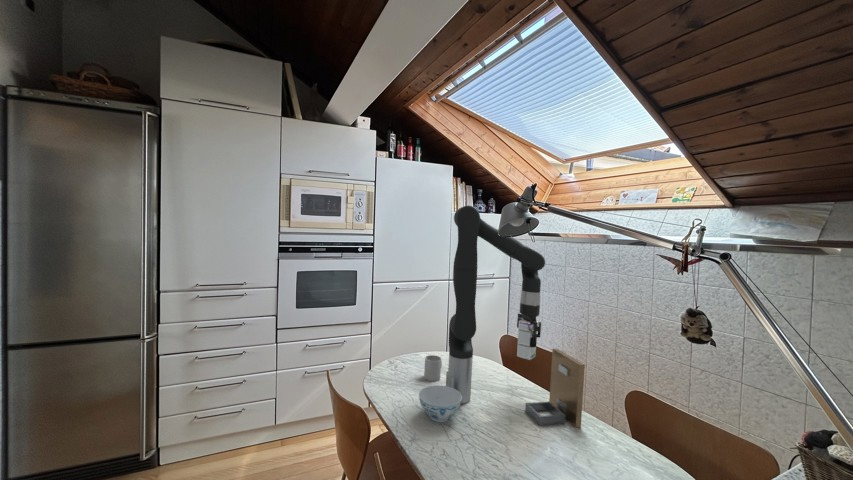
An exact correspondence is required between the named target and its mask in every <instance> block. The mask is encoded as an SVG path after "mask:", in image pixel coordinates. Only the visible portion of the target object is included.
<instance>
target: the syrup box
mask: <svg viewBox="0 0 853 480" xmlns="http://www.w3.org/2000/svg"><path fill="white" fill-rule="evenodd" d="M536 321H537V322H539V321H538V320H536ZM527 323H528V324H527ZM528 325H529V326H530V329H533V325H534V323H533V325H530V322H528V321H525V320H520V321H519V328H518V331H517V332H518V333H517V348H516V349H517V350H516V351H517V352H516V356H517V357H518V358H521V359H525V360H529V361H532V360H533V359H534V358H536V356H537V346H536V347H530V333H529V332H528ZM532 333H533V331H532ZM537 341H538V339H537V338H536V344H537V343H538V342H537Z"/></svg>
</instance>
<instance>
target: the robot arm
mask: <svg viewBox="0 0 853 480" xmlns="http://www.w3.org/2000/svg"><path fill="white" fill-rule="evenodd" d="M480 215H481V214H480V212H479V210H478V209H477V208H476V207H475V206H473V205H464V206H462V207H460V208H458V209H457V210H456V211H455V212H454V215H453V221H454V224H455V225H456V227H457V245H456V250H455V254H454V255H455V256H454V260H453V268H452V269H453V271H452V281H453V283H452V284H453V291H454V295H455V313H454V314H453V315H452V316H451V318H450V320H449V327H448V349H449V350H448V353H449V354H448V368H447V370H448V371H446V377H445V378H446V379H445V386H447V387H450V388H453V389H455V390H457V391H458V392H459V393H460V394H461V396H462V400H461V403H460V405H462V404H463V405H464V404H468V403H469V402H470V401H471V396H472V395H471V393H472V392H471V391H472V376H473V358H474V349H473V348H474V347H473V344H472V343H473V342H472V339H473V337H474V336H475V334H476V331H477V320H476V319H477V318H476V316H477V315H476V298H477V282H478V281H477V280H478V237H479V238H481V240H484V241H485V242H487V243H489V244H490V245H492V246H493V248H496V249H497V250H499V251H501V252H502V253H503V254H505V255H506V256H508V257H510V258H511V259H513V260H516V261H518V262H519V263H520V266H521V267H520V268H521V269H520V270H521V275H522V283H521V292H520V293H521V294H520V301H519V313H518V314H517V320H516V322H517V323H516V329H517V328H519V321H520V320H525V321H528V322H530V325H533V323H534V325H533V329H530V326H529V325H528V332H529V333H530V347H536V348H537V343H536V338H541V331H542V322H541V321H538V320H537V317H539V316H540V308H541V287H542V284H541V283H542V281H541V278H540V277H539V271H541V270H543V269H544V267H545V265H546V259H545V257H544V256H543V255H542V254H541V253H540V252H538V251H536V250H534V249H532V248H531V247H529V246H527V245H525V244H523V243H522V242H520V241H519V240H518V239H516V238H514V237H513V236H511V237H502V236H499V235H498V230H499V229H498V228H496V227H495V226H492V225H491V224H489V223H487V222H486V221H485V220H484V219H482V218H481V216H480ZM537 321H538V322H537ZM527 324H528V323H527ZM532 331H533V333H532Z"/></svg>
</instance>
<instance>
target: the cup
mask: <svg viewBox="0 0 853 480" xmlns="http://www.w3.org/2000/svg"><path fill="white" fill-rule="evenodd" d="M442 366H443V363H442V357H441V356H439V355H435V354H434V355H433V354H432V355H431V354H429V355H426V356H425V357H424V372H423V374H424V376H423V377H424V379H425V380H426V381H429V382H437V381H440V379H441V376H442V375H441V371H442Z"/></svg>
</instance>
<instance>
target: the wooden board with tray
mask: <svg viewBox="0 0 853 480" xmlns="http://www.w3.org/2000/svg"><path fill="white" fill-rule="evenodd" d="M551 350H552V353H551V368H550V385H549V401H535V402H525V408H524V411H525V413H527V415H529V417H530V418H531V419H532V420H533V421H534V422H535V423H536V424H537V425H538V426H539V427H542V426H552V425H553V426H554V425H555V426H556V425H564V424H565V422H566V421H567V423H569V424H570V425H571V426H572V427H573V428H575V429H581V428H582V416H583V414H582V413H583V398H584V386H585V385H584V382H585V367H586V364H585V363H583V362H581V361H579V360H577V359H576V358H574V357H573V356H571V355H569V354H567V353H566V352H564V351H562V350H561V349H559V348H552V349H551ZM545 411H547V412H549V413H550V414H549V415H541V414H540V413H539V412H545Z"/></svg>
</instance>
